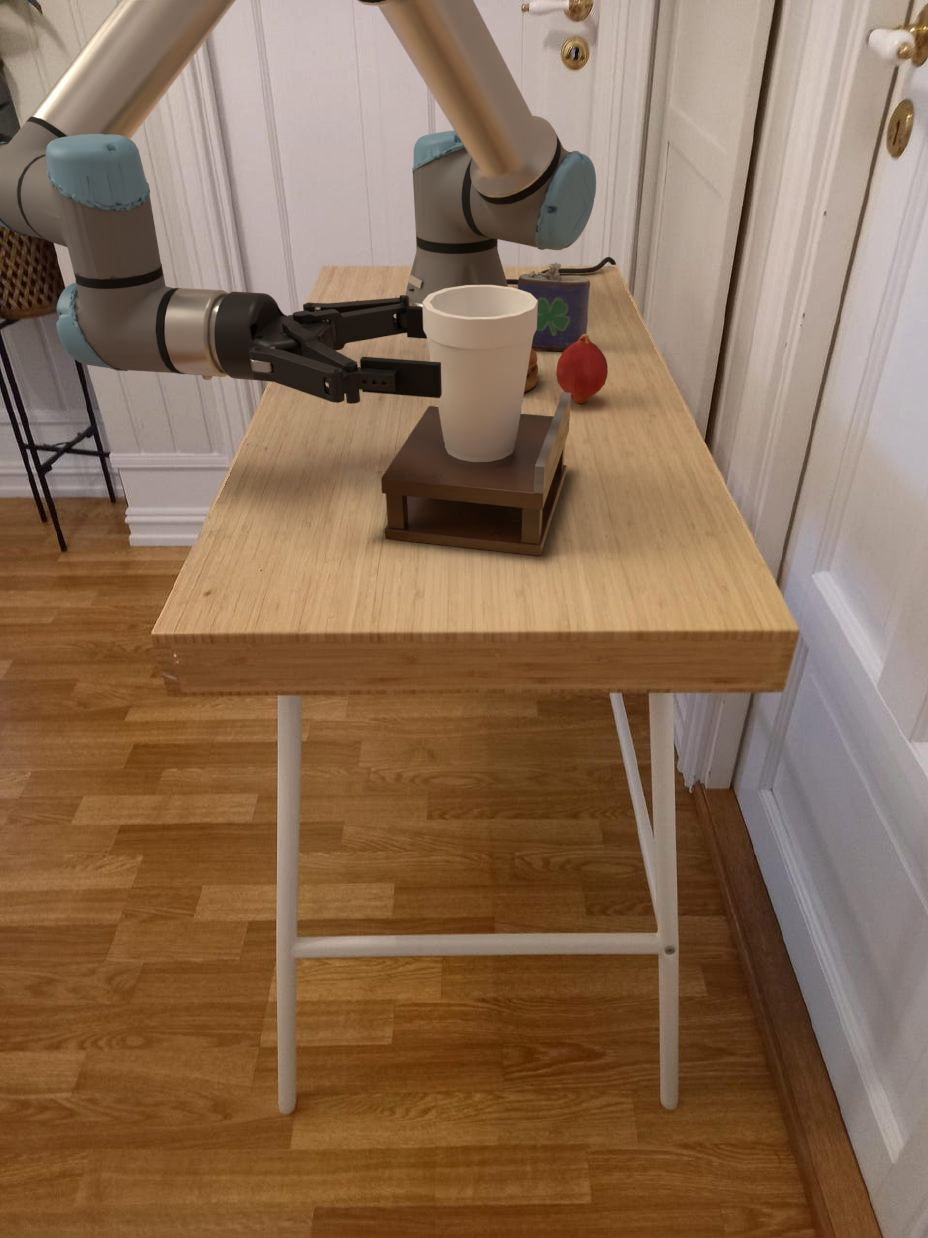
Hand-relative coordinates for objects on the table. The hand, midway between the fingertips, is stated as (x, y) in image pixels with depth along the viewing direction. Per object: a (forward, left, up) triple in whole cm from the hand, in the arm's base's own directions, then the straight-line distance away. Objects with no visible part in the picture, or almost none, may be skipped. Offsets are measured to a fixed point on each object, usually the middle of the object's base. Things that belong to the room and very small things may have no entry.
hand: (459, 351), depth 80 cm
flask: (-42, -11, -15) cm, 46 cm away
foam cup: (0, +2, -9) cm, 9 cm away
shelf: (0, +2, -15) cm, 15 cm away
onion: (-27, 0, -15) cm, 31 cm away
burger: (-28, -11, -15) cm, 34 cm away
